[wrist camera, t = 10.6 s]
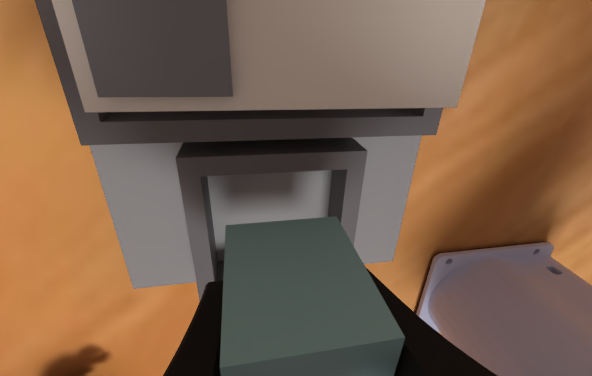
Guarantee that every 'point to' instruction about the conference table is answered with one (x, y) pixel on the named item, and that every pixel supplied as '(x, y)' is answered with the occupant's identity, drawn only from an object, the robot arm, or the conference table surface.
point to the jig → (242, 174)
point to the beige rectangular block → (268, 53)
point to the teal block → (302, 304)
